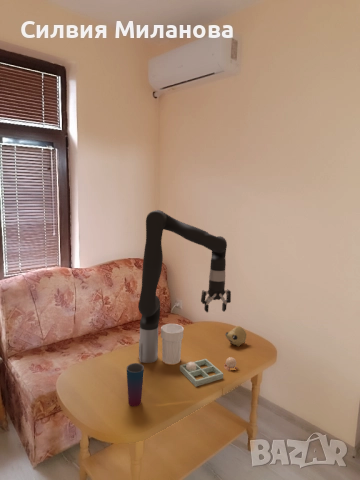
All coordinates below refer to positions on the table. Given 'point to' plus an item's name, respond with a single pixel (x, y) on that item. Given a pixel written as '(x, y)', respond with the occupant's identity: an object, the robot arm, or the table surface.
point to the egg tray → (202, 373)
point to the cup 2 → (171, 343)
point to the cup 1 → (135, 383)
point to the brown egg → (231, 362)
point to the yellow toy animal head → (236, 336)
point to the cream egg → (191, 366)
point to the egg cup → (227, 367)
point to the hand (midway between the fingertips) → (215, 311)
